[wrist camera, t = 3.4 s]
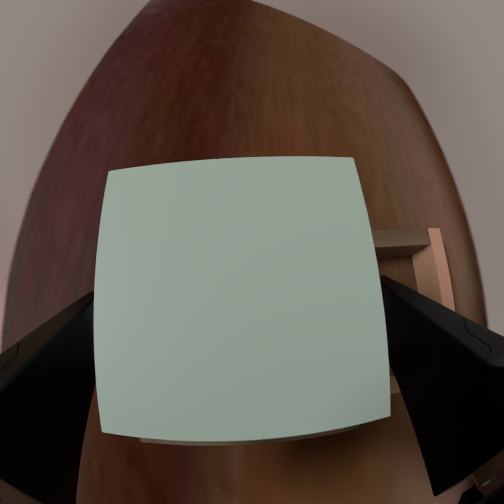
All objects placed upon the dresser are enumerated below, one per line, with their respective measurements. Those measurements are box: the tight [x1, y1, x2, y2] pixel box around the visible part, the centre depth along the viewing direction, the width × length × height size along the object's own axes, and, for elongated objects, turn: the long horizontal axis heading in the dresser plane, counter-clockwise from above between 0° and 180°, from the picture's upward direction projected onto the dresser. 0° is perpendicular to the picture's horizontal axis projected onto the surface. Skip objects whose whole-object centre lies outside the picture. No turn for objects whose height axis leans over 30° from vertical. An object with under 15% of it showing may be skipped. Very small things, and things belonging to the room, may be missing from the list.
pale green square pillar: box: [94, 156, 390, 441], centre depth 10 cm, size 4×4×12 cm
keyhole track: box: [140, 228, 455, 446], centre depth 15 cm, size 12×18×2 cm, turn 94°
